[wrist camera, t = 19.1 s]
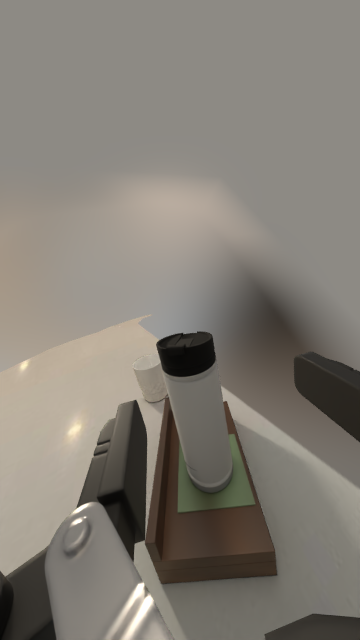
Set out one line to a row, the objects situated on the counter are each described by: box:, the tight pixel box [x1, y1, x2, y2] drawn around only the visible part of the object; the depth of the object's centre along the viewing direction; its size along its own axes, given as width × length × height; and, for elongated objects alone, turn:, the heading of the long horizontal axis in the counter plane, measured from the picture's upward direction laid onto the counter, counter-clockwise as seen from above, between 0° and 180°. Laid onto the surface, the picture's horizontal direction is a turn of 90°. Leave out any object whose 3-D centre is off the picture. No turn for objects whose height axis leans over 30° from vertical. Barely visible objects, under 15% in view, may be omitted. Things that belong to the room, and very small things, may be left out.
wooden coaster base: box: [145, 397, 277, 584], centre depth 27 cm, size 12×20×7 cm, turn 179°
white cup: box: [132, 354, 168, 402], centre depth 48 cm, size 8×8×10 cm
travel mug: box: [156, 332, 233, 493], centre depth 22 cm, size 6×7×20 cm
